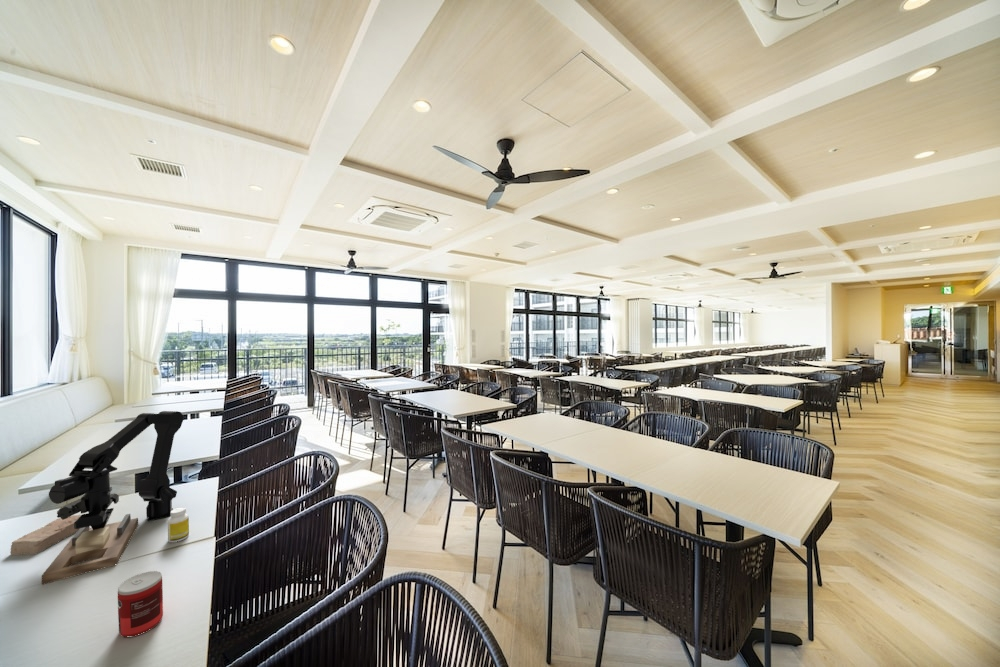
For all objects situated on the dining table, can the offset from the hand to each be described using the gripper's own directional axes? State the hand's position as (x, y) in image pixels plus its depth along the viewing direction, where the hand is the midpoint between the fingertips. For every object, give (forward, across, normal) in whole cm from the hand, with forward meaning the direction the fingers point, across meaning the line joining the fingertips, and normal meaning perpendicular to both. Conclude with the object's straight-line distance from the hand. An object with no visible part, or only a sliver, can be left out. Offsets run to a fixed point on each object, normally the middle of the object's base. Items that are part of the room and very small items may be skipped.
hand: (98, 535), depth 122 cm
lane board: (+4, +3, 0) cm, 5 cm away
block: (+1, +5, 0) cm, 5 cm away
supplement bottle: (+4, +9, +21) cm, 23 cm away
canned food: (+4, +52, +19) cm, 56 cm away
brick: (+4, -15, -15) cm, 21 cm away
